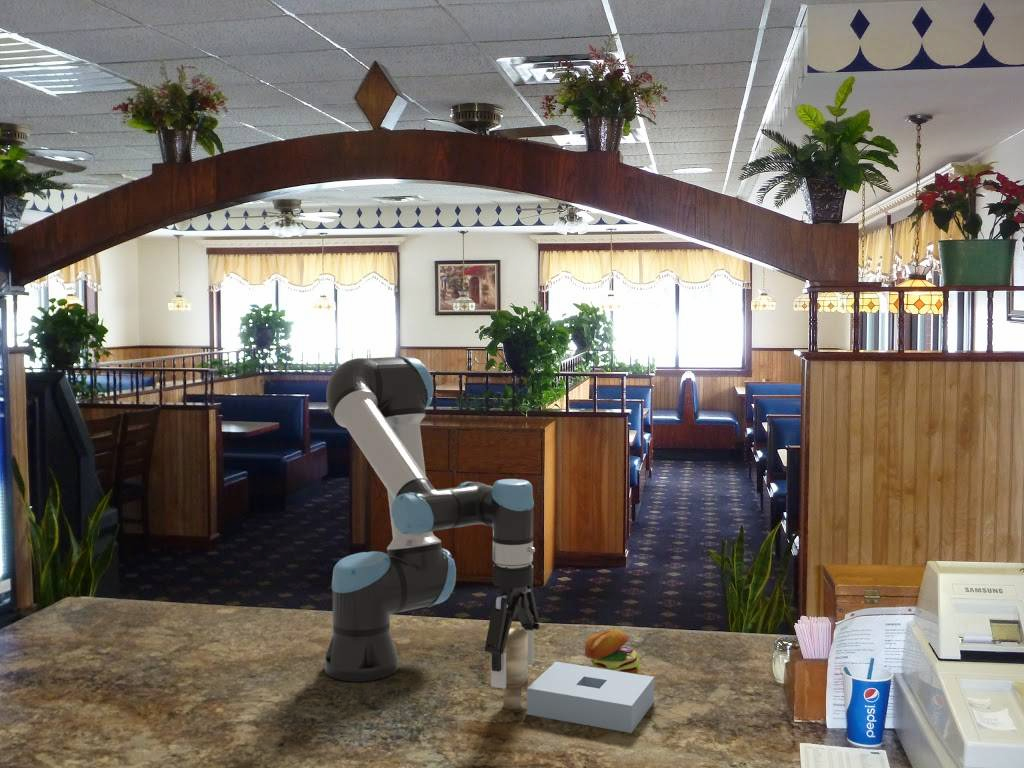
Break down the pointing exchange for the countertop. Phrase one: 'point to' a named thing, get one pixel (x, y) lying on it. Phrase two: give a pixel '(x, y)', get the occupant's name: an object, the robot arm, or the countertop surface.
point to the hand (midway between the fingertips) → (513, 674)
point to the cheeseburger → (612, 652)
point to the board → (591, 696)
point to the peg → (515, 668)
